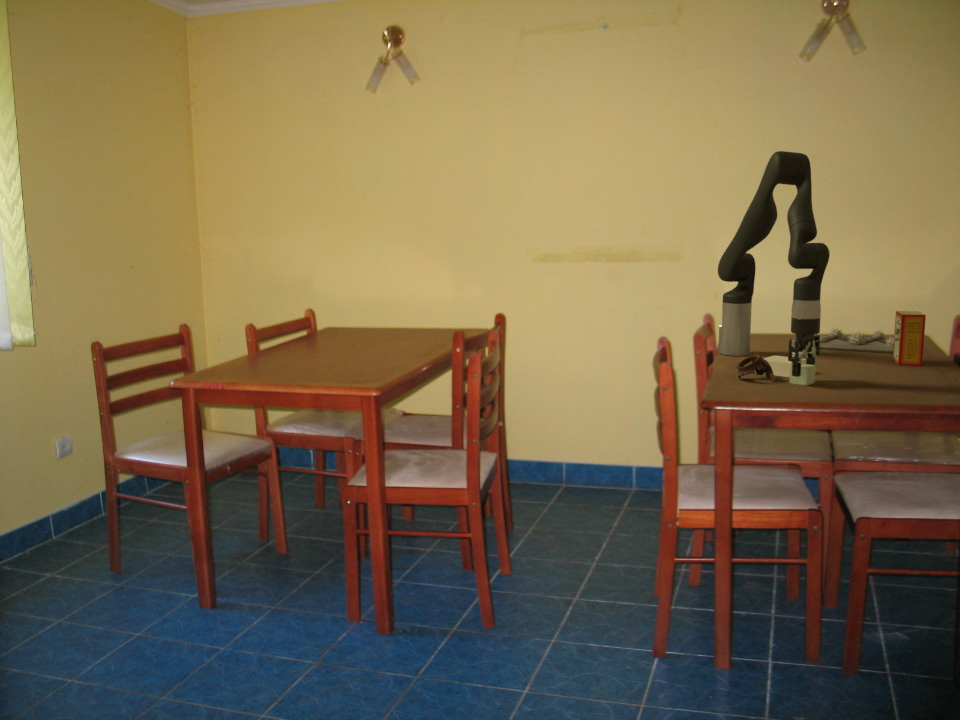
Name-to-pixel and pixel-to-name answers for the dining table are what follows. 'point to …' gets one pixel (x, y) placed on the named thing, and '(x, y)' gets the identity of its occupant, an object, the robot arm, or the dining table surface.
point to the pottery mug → (755, 367)
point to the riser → (781, 365)
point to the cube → (804, 375)
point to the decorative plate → (857, 342)
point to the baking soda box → (909, 338)
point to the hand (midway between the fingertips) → (803, 374)
